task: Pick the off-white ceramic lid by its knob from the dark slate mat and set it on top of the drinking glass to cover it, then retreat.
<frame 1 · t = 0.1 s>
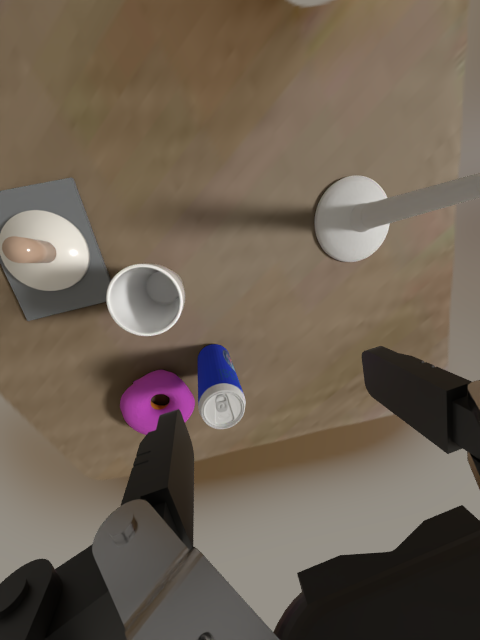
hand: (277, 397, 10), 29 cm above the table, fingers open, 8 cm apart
donut: (160, 395, 40), on the table
mat: (51, 252, 33), on the table
drinking glass: (165, 286, 37), on the table
candlestick: (351, 221, 39), on the table
beverage can: (213, 357, 40), on the table
lid: (48, 252, 32), point 1 cm above the table, touching mat
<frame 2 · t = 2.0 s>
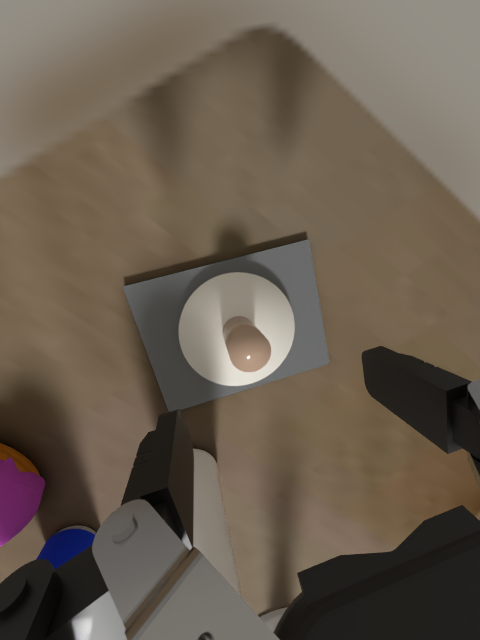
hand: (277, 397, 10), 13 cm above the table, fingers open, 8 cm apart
mat: (236, 327, 22), on the table
drinking glass: (191, 466, 25), on the table
beverage can: (76, 540, 25), on the table
lid: (237, 329, 22), point 1 cm above the table, touching mat
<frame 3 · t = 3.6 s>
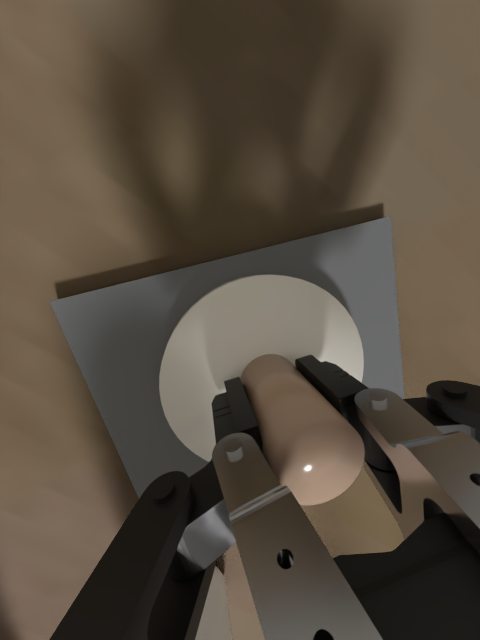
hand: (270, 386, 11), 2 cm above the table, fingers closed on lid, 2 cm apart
mat: (259, 367, 13), on the table
drinking glass: (184, 580, 16), on the table
lid: (263, 372, 13), point 1 cm above the table, touching gripper, mat
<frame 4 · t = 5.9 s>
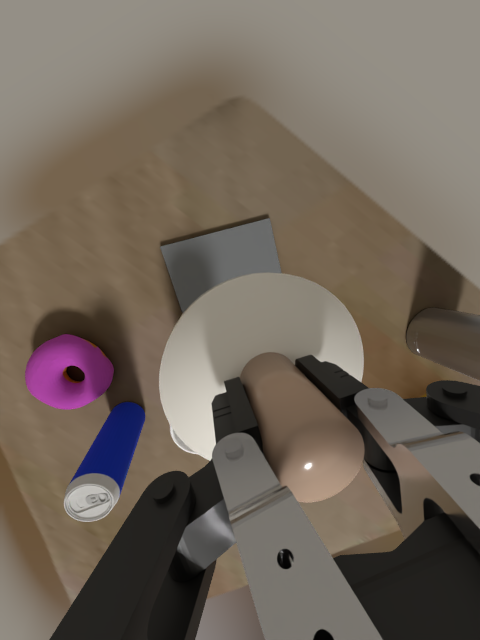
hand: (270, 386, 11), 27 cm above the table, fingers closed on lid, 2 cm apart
donut: (78, 365, 36), on the table
mat: (227, 273, 37), on the table
beverage can: (129, 413, 39), on the table
lid: (263, 371, 13), point 26 cm above the table, touching gripper
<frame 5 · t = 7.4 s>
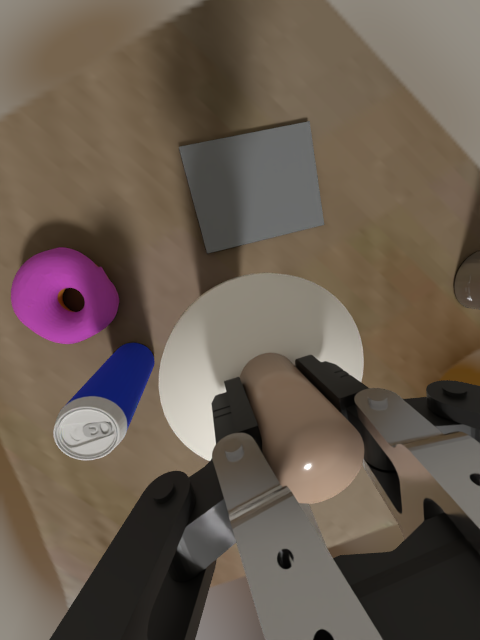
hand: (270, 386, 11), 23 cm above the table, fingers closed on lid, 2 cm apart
donut: (77, 295, 30), on the table
mat: (256, 190, 31), on the table
beverage can: (135, 359, 33), on the table
lid: (262, 371, 13), point 21 cm above the table, touching gripper
when the fingers open (18 cm above the table, at t = 8.5 s): lid drops 2 cm, resting on drinking glass.
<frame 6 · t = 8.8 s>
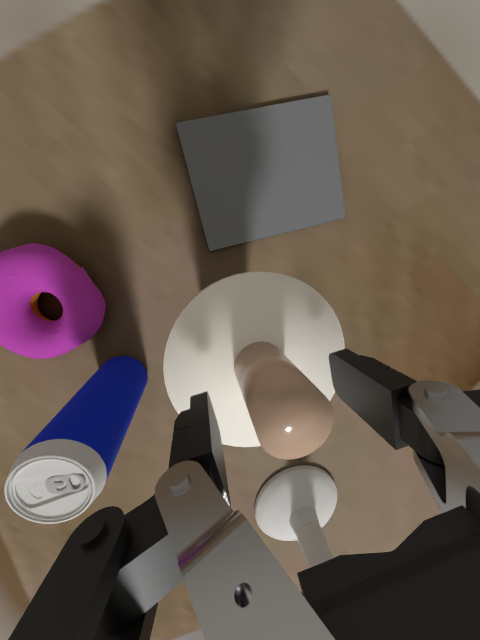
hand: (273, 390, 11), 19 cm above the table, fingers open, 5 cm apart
donut: (56, 300, 26), on the table
mat: (267, 176, 26), on the table
candlestick: (295, 500, 37), on the table
beverage can: (125, 374, 28), on the table
lid: (255, 359, 14), point 15 cm above the table, touching drinking glass
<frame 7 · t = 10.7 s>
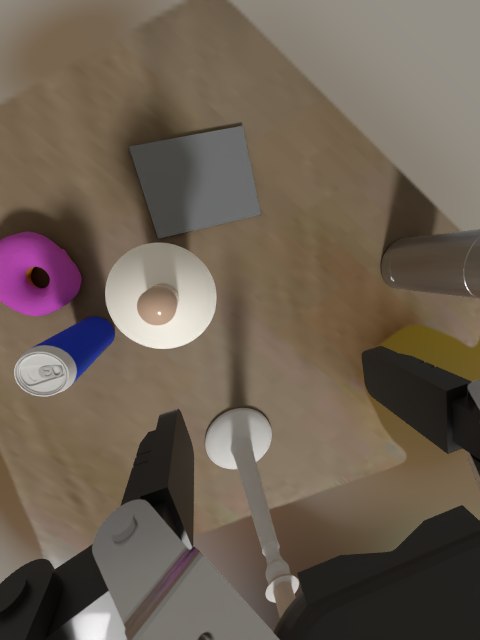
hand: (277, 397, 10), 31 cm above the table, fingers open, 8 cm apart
donut: (44, 274, 35), on the table
mat: (199, 184, 36), on the table
candlestick: (238, 437, 47), on the table
beverage can: (98, 331, 38), on the table
lid: (164, 296, 24), point 15 cm above the table, touching drinking glass
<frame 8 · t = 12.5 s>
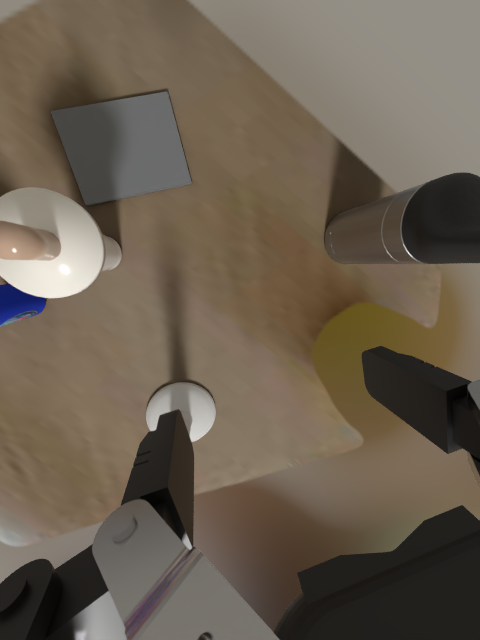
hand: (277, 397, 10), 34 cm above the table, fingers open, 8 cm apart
mat: (126, 151, 36), on the table
drinking glass: (105, 253, 39), on the table, touching lid
candlestick: (181, 412, 47), on the table
beverage can: (30, 299, 38), on the table
lid: (50, 246, 24), point 15 cm above the table, touching drinking glass
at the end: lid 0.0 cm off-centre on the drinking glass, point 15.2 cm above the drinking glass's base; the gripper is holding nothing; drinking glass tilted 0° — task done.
